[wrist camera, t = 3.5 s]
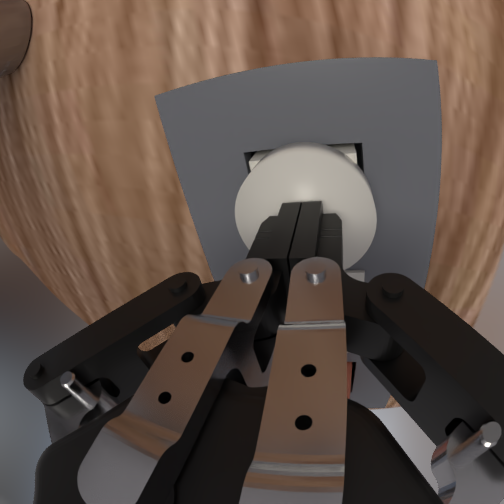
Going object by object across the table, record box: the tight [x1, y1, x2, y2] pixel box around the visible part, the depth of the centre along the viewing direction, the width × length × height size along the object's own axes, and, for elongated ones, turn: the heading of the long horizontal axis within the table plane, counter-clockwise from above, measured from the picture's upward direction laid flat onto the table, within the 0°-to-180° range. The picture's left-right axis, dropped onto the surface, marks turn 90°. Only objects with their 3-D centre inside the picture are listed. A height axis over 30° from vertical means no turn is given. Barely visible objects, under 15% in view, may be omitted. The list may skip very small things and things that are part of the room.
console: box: [154, 57, 442, 408], centre depth 19 cm, size 27×12×7 cm, turn 12°
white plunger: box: [235, 142, 377, 270], centre depth 14 cm, size 6×6×8 cm
